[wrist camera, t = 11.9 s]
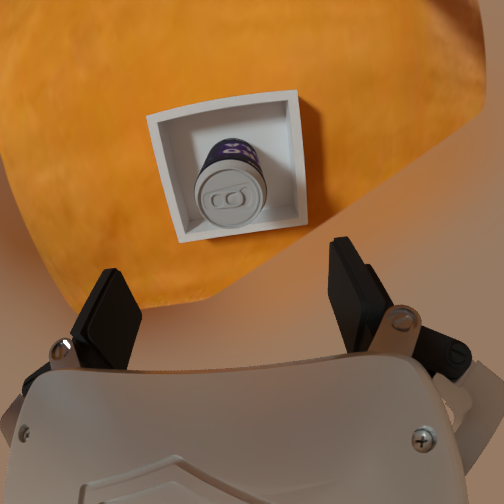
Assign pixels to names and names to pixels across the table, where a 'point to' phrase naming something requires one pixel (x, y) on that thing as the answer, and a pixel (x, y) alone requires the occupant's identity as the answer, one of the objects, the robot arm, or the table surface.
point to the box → (223, 127)
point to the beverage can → (230, 185)
